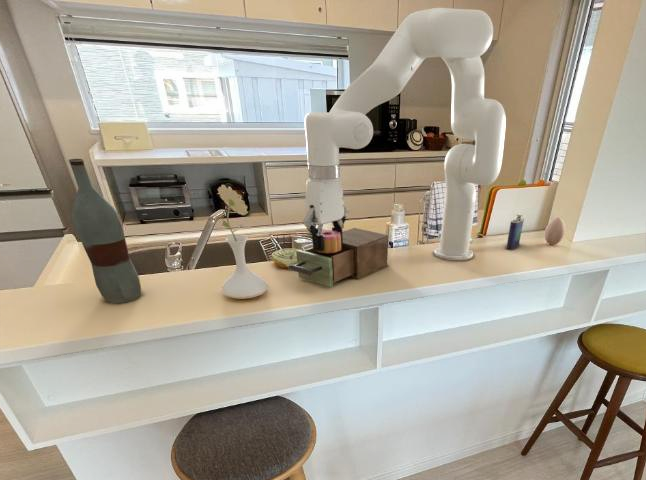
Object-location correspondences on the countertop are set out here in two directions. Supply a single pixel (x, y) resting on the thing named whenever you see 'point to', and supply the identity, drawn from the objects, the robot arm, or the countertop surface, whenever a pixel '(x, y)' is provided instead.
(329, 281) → the drawer
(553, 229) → the egg
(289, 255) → the decorated donut
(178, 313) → the countertop surface
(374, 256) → the cabinet
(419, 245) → the countertop surface
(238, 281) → the flower in vase
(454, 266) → the countertop surface
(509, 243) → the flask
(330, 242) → the donut
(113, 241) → the bottle
